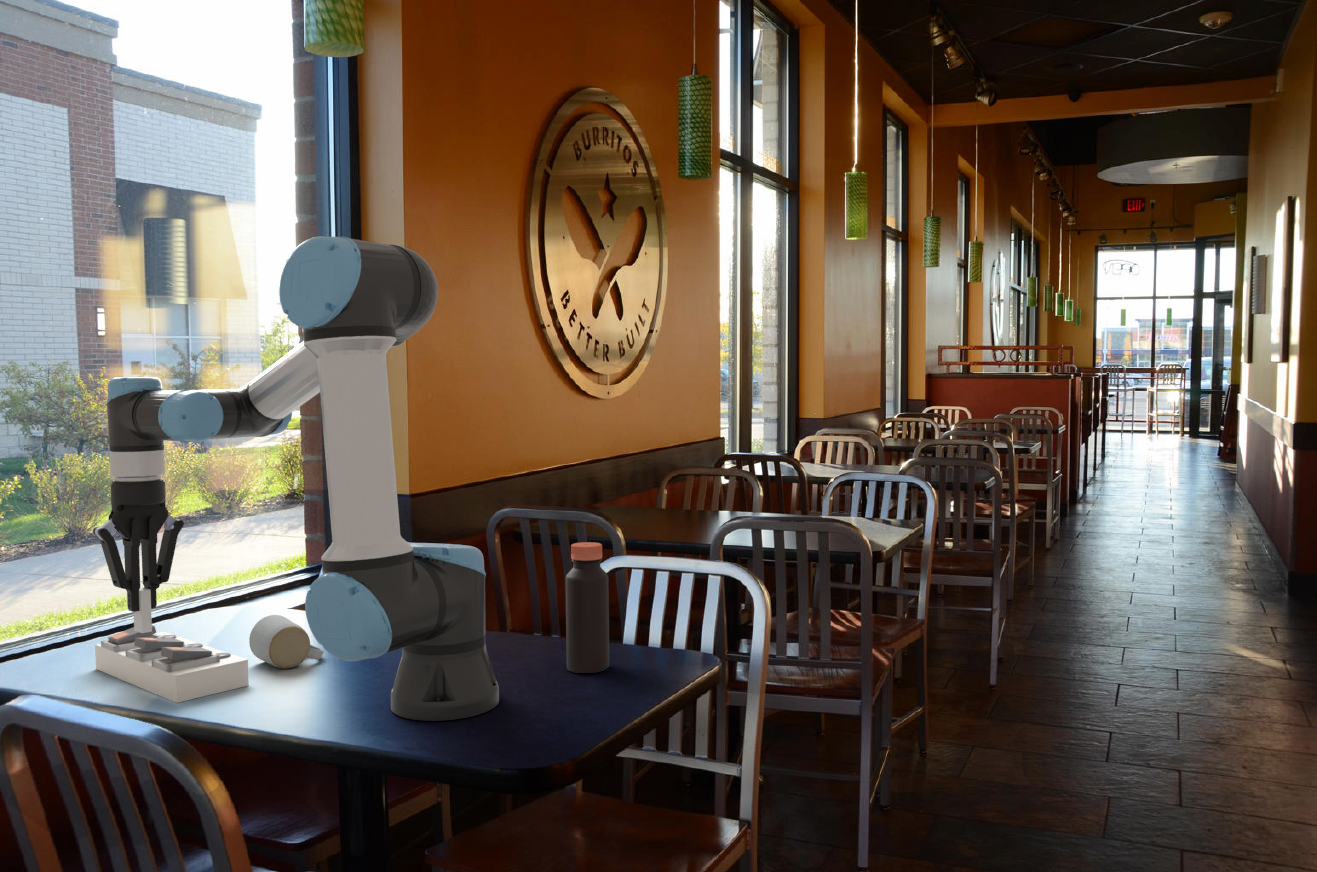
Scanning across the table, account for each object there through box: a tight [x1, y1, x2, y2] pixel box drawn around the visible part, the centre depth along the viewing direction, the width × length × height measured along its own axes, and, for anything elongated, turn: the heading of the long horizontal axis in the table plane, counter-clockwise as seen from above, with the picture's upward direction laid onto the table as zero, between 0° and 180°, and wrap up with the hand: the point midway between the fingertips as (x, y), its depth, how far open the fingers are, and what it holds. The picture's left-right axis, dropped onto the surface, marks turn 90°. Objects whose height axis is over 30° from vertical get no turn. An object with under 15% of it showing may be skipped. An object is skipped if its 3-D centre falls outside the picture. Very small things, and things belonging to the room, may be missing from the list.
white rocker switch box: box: [94, 631, 250, 704], centre depth 165 cm, size 28×11×5 cm, turn 50°
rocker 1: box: [107, 624, 157, 645], centre depth 170 cm, size 4×6×1 cm, turn 139°
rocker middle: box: [134, 638, 184, 649], centre depth 164 cm, size 4×6×1 cm, turn 140°
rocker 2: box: [161, 647, 212, 659], centre depth 158 cm, size 4×6×1 cm, turn 140°
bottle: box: [565, 541, 610, 674], centre depth 168 cm, size 7×7×20 cm
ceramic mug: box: [248, 614, 324, 670], centre depth 173 cm, size 11×8×8 cm
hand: (143, 630), depth 162 cm, fingers closed
